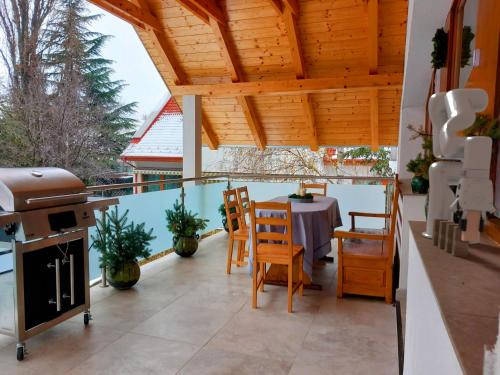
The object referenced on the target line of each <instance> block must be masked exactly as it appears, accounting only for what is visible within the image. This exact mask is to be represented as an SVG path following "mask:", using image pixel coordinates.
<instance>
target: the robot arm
mask: <svg viewBox="0 0 500 375" xmlns="http://www.w3.org/2000/svg"><path fill="white" fill-rule="evenodd" d="M488 104H489V95H488V93H487V91H486V90H484V89H483V88H455V89H451V90H449V91H443V92H442V91H441V92H436V93H434V94H432V95H431V96H430V97H429V100H428V106H427V108H428V115H429V119H430V121H431V125H432V152H433V153H432V154H433V156H434V157H435V158H437V159H443V160H444V161H442V160H441V161H436V162H433V163H432V164H430V166H429V168H428V178H429V180H428V181H429V192H428V194H429V195H428V209H427V220H426V231H422V232H421V235H422V236H423V237H425V238H428V239H432V234H433V222H434V219H447V220H448V221H453V222H454V214H455V215H456V216H457V218H458V224H459V226H458V227H459V230H461V231H466V228H467V219H466V215H467V212H468V210H472V211H481V217H480V224H479V232H480V233H483V231H484V230H483V229H484V225H485V221H486V220H487V218H488V217H489V216H490V215H491V214H493V213H495V212H496V207H495V206H494V188H493V182H492V180H491V179H490V171H491V170H490V169H491V160H492V146H493V140H492V138H491V137H489V136H486V135H485V136H484V135H482V136H481V135H480V136H479V135H478V136H477V135H476V136H473V135H471V136H459V135H458V136H457V133H458V132H461V131H464V130H466V129H468V128H470V127H472V125H473V124H475V122H476V117H477V116H476V113H481V112H484V111H485V110H486V108H487V107H488ZM445 160H458V161H445ZM450 186H457V187H456V192H455V193H454V192H453V190H452V189H451V188H450Z"/></svg>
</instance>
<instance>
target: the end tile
mask: <svg viewBox="0 0 500 375" xmlns="http://www.w3.org/2000/svg"><path fill="white" fill-rule="evenodd" d="M480 217H481V211H472V210H468V212H467V215H466V219H467V228H466V231H462V237H461V240H463V241H478V238H479V224H480ZM479 239H480V238H479Z"/></svg>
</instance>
